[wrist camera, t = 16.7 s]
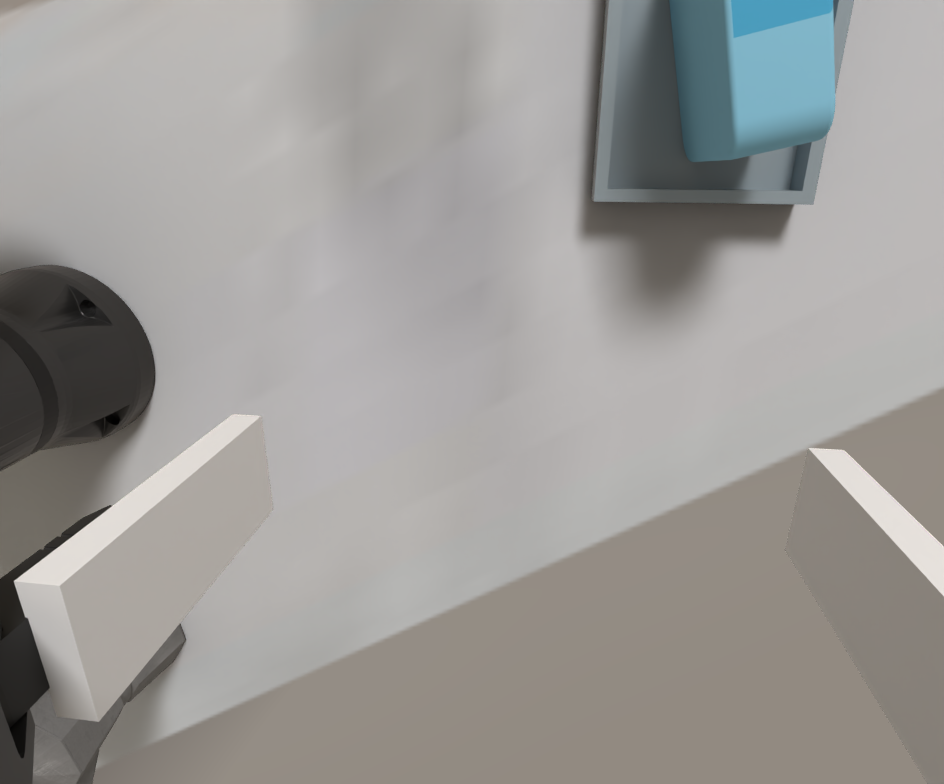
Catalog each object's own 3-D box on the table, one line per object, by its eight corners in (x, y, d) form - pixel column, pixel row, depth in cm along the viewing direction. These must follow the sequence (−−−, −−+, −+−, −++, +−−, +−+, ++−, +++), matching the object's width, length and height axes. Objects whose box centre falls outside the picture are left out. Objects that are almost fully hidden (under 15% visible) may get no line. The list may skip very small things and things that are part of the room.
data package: (756, 146, 39) (838, 137, 28) (684, 163, 40) (735, 160, 28) (742, -69, 35) (832, -181, 24) (663, -46, 36) (713, -143, 25)
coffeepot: (217, 654, 62) (93, 833, 45) (159, 687, 65) (22, 867, 48) (112, 546, 59) (-64, 696, 42) (56, 586, 61) (-130, 742, 45)
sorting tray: (591, 199, 42) (593, 201, 39) (613, -109, 36) (619, -133, 33) (795, 202, 40) (813, 204, 37) (856, -121, 34) (883, -146, 31)
